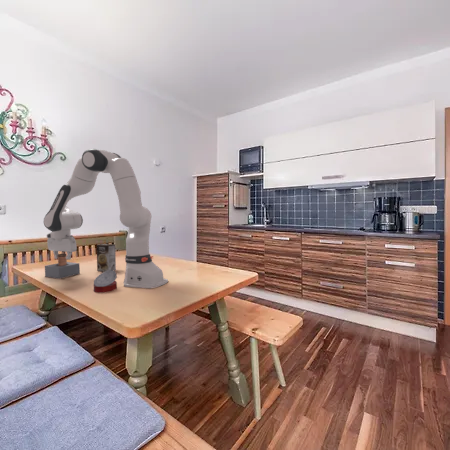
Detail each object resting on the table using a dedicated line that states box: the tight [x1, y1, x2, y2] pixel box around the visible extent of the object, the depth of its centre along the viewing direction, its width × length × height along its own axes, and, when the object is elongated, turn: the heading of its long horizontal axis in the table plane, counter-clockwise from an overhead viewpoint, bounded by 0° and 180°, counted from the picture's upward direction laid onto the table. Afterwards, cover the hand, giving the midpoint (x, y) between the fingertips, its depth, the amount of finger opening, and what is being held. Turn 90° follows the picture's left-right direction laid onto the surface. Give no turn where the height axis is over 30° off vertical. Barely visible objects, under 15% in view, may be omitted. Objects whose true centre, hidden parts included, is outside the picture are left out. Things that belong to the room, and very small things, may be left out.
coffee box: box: [96, 243, 117, 272], centre depth 155 cm, size 9×6×16 cm
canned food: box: [93, 270, 118, 294], centre depth 118 cm, size 11×10×10 cm
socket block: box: [44, 261, 81, 280], centre depth 144 cm, size 12×12×6 cm
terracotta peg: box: [57, 253, 68, 266], centre depth 144 cm, size 4×4×12 cm
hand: (62, 258), depth 144 cm, fingers open, 8 cm apart
